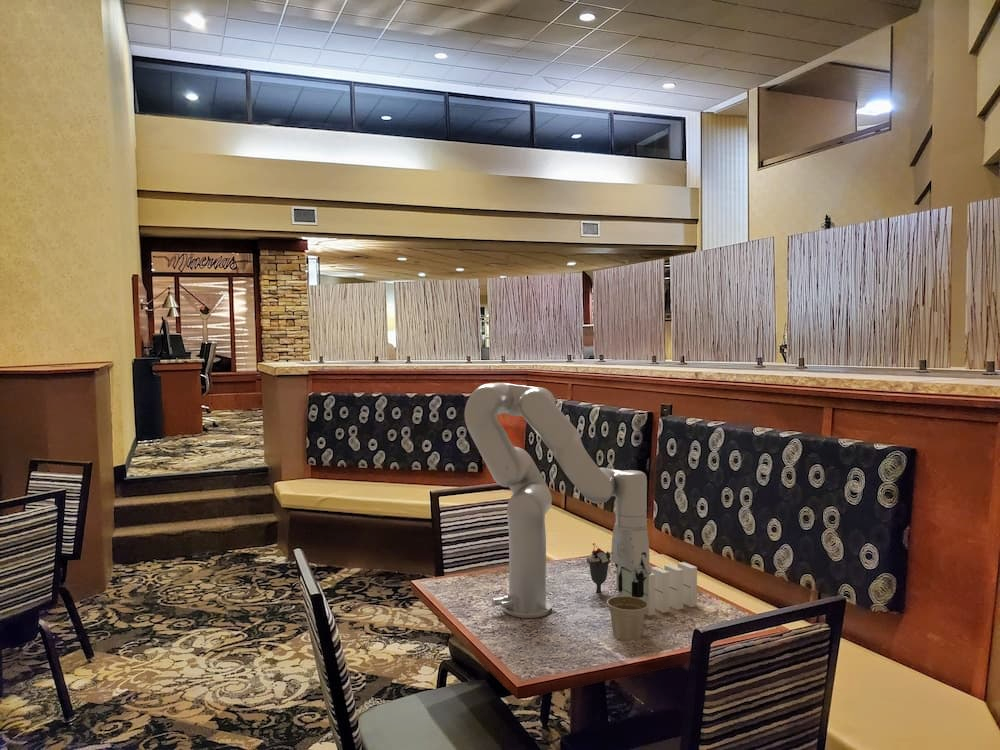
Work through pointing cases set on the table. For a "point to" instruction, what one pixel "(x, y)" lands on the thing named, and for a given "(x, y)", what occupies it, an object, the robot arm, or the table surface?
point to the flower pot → (627, 616)
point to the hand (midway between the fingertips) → (630, 593)
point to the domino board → (672, 611)
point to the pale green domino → (627, 582)
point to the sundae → (599, 567)
